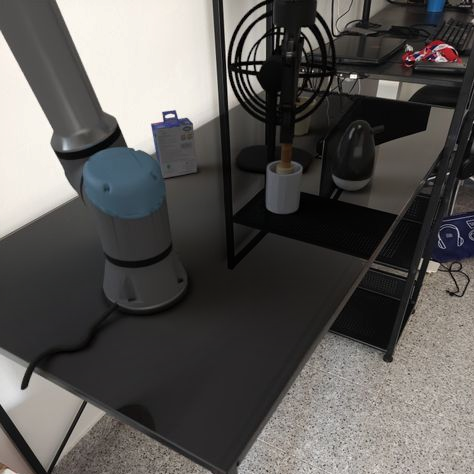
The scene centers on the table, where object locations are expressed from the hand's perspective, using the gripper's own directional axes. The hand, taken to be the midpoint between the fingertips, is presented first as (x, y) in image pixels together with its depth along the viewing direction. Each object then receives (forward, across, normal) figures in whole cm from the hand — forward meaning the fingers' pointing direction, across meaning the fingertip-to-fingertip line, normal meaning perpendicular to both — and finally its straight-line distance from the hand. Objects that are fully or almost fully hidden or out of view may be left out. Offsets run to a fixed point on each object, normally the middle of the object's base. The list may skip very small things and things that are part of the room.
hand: (286, 139), depth 90 cm
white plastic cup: (+15, 0, 0) cm, 15 cm away
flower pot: (+15, +47, +1) cm, 50 cm away
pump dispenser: (+15, +13, -15) cm, 25 cm away
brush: (+10, 0, 0) cm, 10 cm away
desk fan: (+15, +25, +5) cm, 29 cm away
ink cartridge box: (+15, +14, +30) cm, 36 cm away
